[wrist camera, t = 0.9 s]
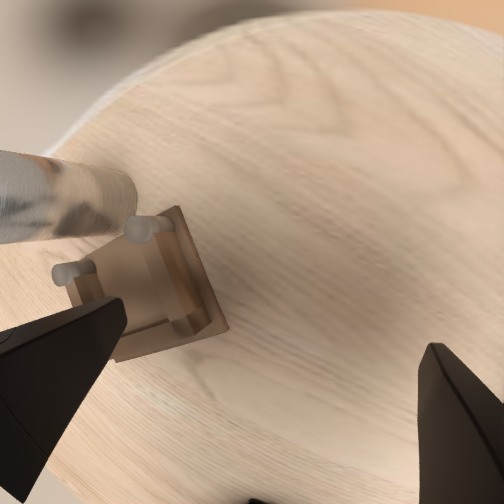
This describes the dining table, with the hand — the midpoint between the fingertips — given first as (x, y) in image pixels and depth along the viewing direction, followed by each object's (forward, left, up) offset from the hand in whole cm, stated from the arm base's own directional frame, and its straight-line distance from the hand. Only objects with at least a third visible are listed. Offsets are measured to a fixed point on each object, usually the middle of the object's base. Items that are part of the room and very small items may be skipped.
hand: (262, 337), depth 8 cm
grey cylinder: (-2, +17, -14) cm, 22 cm away
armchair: (-8, +11, -14) cm, 19 cm away
